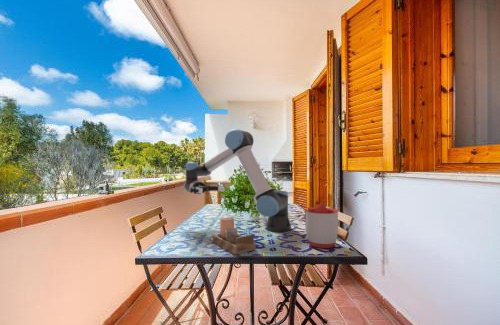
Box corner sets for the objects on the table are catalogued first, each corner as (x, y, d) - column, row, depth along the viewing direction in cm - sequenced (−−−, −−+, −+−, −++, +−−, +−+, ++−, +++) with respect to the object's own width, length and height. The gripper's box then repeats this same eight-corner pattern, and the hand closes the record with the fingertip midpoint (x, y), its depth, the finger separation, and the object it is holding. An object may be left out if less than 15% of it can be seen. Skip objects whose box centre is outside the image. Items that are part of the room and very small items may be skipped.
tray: (212, 242, 129) (212, 228, 129) (231, 238, 135) (231, 225, 135) (235, 254, 110) (235, 238, 110) (255, 249, 117) (255, 234, 117)
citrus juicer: (306, 238, 134) (306, 200, 134) (341, 242, 126) (340, 202, 126) (297, 246, 120) (297, 204, 120) (335, 252, 112) (335, 207, 112)
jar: (234, 238, 131) (233, 215, 131) (234, 242, 124) (234, 218, 124) (220, 238, 130) (220, 215, 130) (219, 243, 123) (219, 218, 123)
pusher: (225, 243, 123) (225, 229, 123) (236, 241, 126) (235, 227, 126) (226, 243, 122) (226, 229, 122) (237, 241, 125) (237, 227, 125)
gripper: (215, 192, 165) (232, 195, 147) (178, 195, 150) (191, 199, 133) (215, 180, 165) (232, 182, 147) (178, 182, 150) (191, 184, 133)
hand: (213, 190), depth 140 cm, fingers open, 13 cm apart
